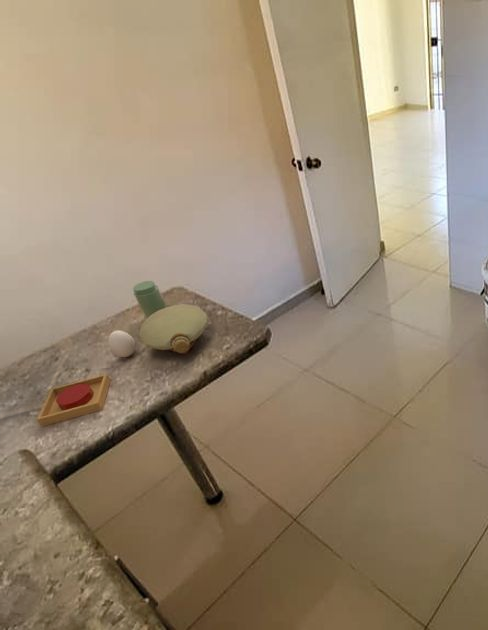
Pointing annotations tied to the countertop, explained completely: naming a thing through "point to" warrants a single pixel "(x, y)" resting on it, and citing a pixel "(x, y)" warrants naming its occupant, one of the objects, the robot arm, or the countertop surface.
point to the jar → (149, 297)
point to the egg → (121, 343)
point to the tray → (56, 414)
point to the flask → (174, 328)
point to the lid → (74, 396)
